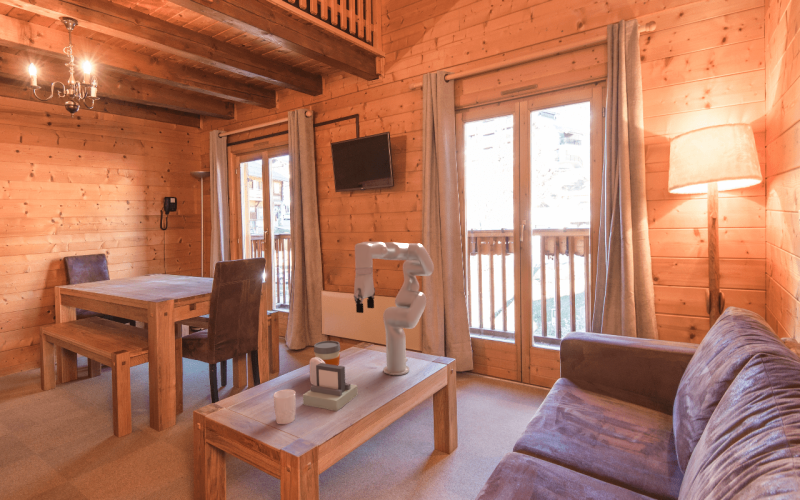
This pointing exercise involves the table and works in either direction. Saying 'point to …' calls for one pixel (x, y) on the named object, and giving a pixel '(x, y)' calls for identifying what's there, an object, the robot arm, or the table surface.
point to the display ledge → (329, 397)
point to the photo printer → (314, 369)
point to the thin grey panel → (331, 376)
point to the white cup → (285, 406)
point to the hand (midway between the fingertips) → (365, 310)
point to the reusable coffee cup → (328, 352)
